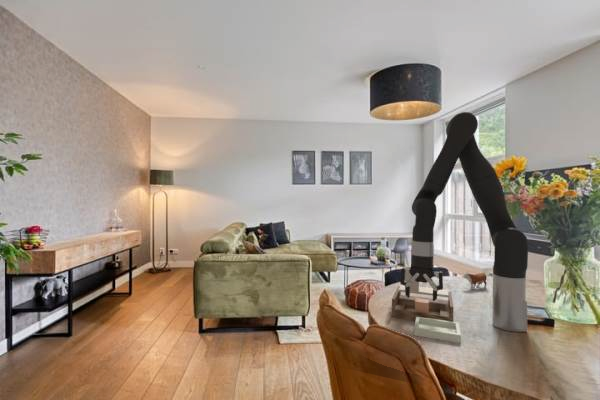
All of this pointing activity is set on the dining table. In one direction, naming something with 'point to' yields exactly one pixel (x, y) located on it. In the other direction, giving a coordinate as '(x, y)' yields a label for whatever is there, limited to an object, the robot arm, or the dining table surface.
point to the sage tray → (437, 329)
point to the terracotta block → (422, 305)
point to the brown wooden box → (406, 310)
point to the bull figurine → (475, 279)
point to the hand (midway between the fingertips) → (420, 298)
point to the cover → (421, 290)
